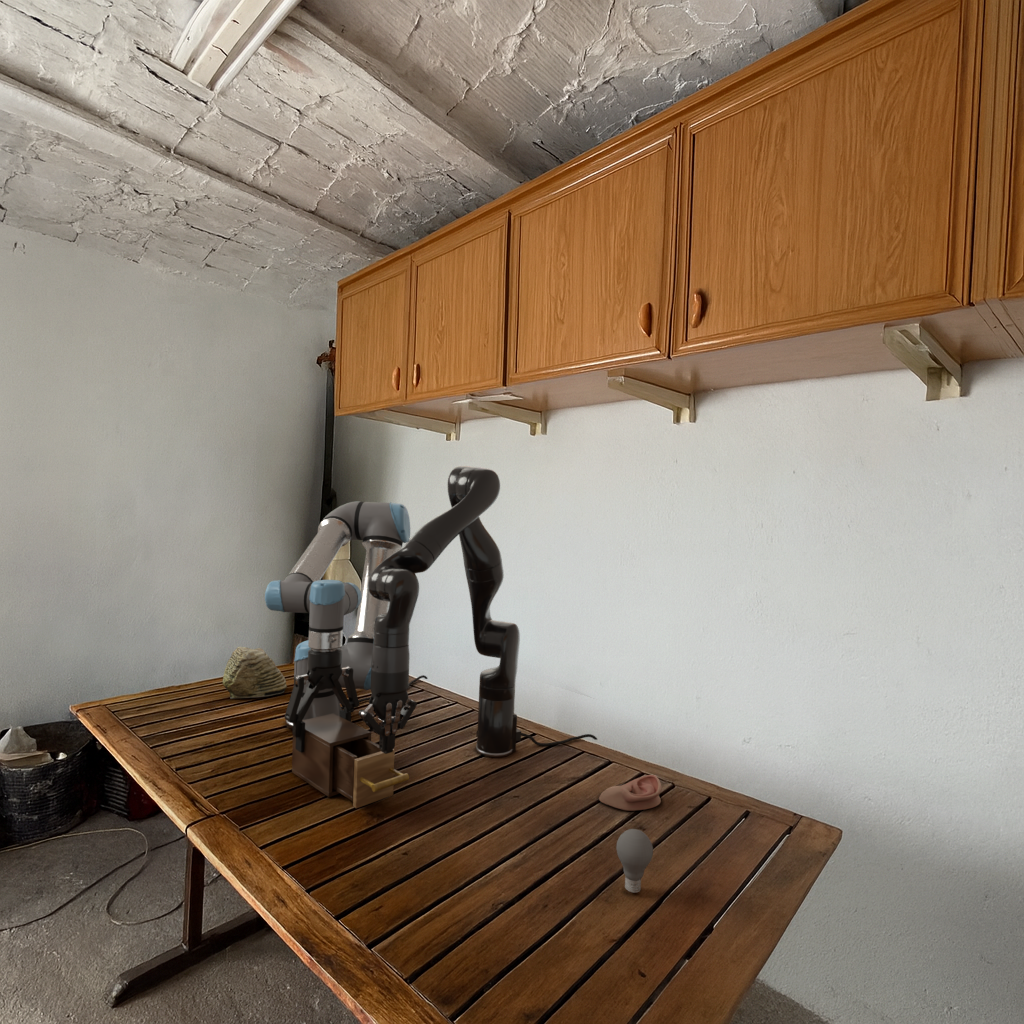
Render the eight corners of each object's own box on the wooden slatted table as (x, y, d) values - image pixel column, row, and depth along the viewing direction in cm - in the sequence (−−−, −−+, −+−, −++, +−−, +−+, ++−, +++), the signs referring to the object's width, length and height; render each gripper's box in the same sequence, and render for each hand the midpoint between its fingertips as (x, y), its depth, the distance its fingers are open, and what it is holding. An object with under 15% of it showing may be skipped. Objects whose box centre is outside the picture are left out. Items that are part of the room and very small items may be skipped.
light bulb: (610, 879, 108) (613, 822, 108) (644, 879, 109) (647, 822, 109) (619, 902, 102) (622, 840, 102) (655, 901, 103) (658, 840, 103)
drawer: (410, 805, 129) (411, 758, 129) (372, 819, 123) (374, 770, 123) (353, 771, 144) (355, 729, 144) (317, 783, 138) (319, 739, 138)
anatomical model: (598, 788, 134) (602, 766, 145) (597, 806, 134) (601, 783, 146) (662, 796, 132) (661, 774, 143) (662, 815, 132) (660, 791, 143)
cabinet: (370, 783, 140) (371, 732, 140) (328, 797, 133) (330, 743, 133) (331, 760, 152) (333, 713, 152) (291, 772, 145) (293, 722, 145)
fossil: (218, 695, 195) (220, 647, 195) (278, 685, 208) (279, 640, 207) (228, 703, 189) (230, 653, 188) (289, 692, 201) (290, 645, 201)
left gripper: (285, 658, 134) (281, 762, 135) (376, 644, 151) (373, 737, 151) (269, 651, 140) (266, 751, 140) (359, 639, 156) (356, 728, 156)
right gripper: (372, 676, 120) (368, 766, 120) (428, 665, 129) (424, 749, 129) (351, 667, 125) (347, 754, 125) (406, 657, 134) (402, 738, 135)
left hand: (322, 744), depth 145 cm, fingers closed on cabinet, 10 cm apart
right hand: (386, 751), depth 127 cm, fingers closed
